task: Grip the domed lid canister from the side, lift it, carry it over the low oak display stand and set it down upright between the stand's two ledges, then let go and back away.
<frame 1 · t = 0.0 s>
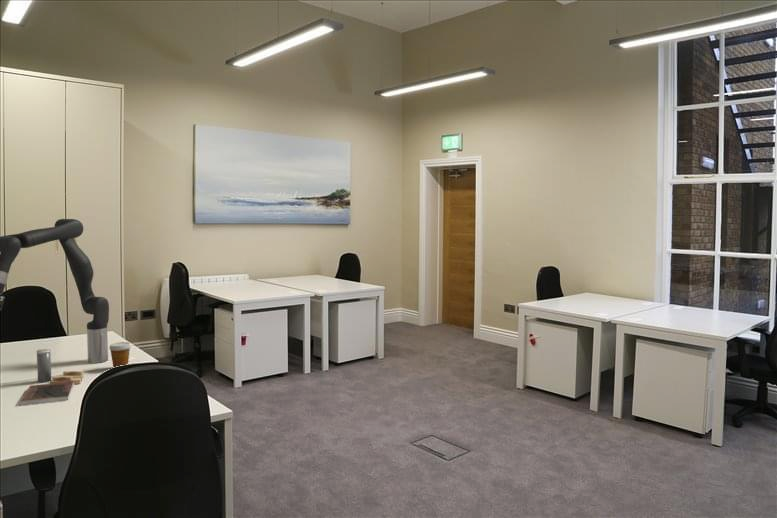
display stand: (67, 382, 249), on the table
domed lid canister: (44, 381, 250), on the table
picture frame: (48, 396, 231), on the table
disposable coffee cup: (120, 368, 272), on the table
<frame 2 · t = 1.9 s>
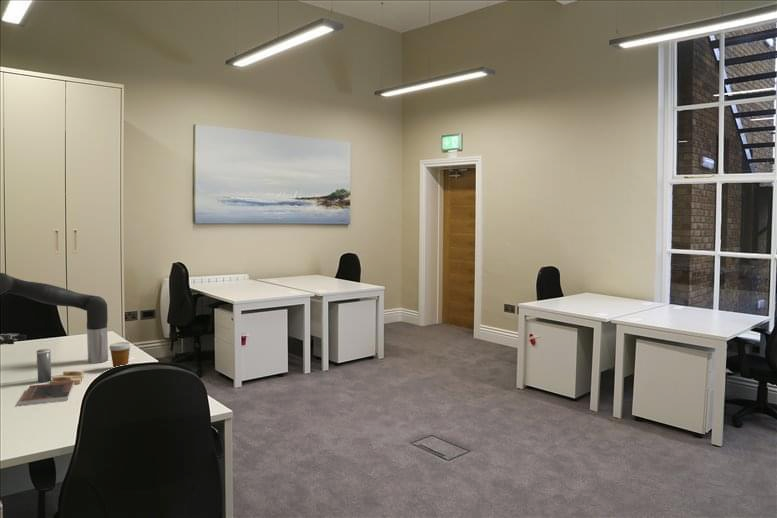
hand: (19, 339, 247), 19 cm above the table, tool horizontal, fingers open, 8 cm apart
nothing on the table moved.
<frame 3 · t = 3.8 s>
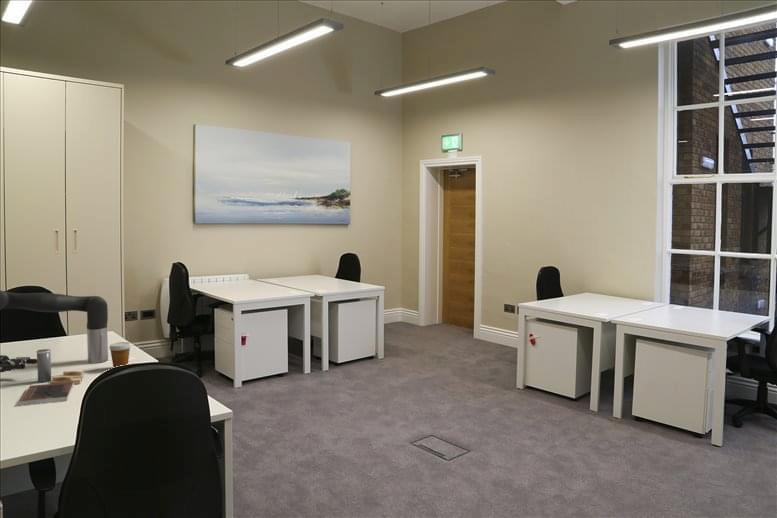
hand: (30, 363, 249), 8 cm above the table, tool horizontal, fingers open, 8 cm apart
nothing on the table moved.
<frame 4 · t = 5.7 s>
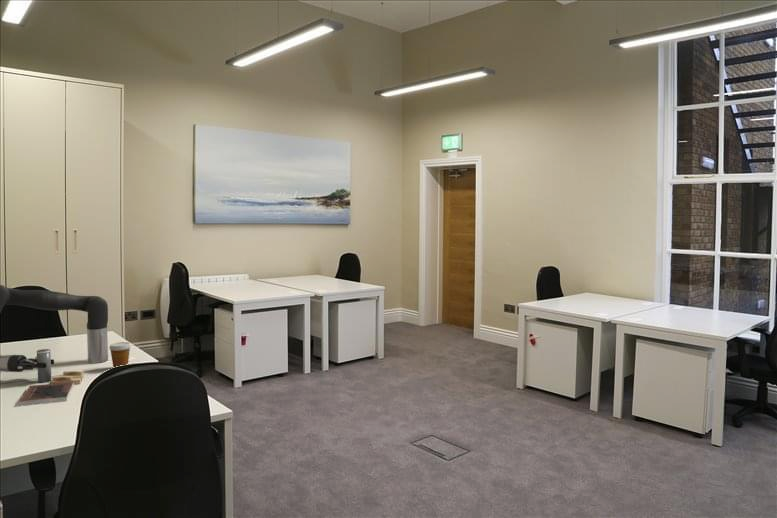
hand: (49, 363, 249), 8 cm above the table, tool horizontal, fingers closed on domed lid canister, 5 cm apart
domed lid canister: (44, 381, 250), on the table, touching gripper
everything else where it was.
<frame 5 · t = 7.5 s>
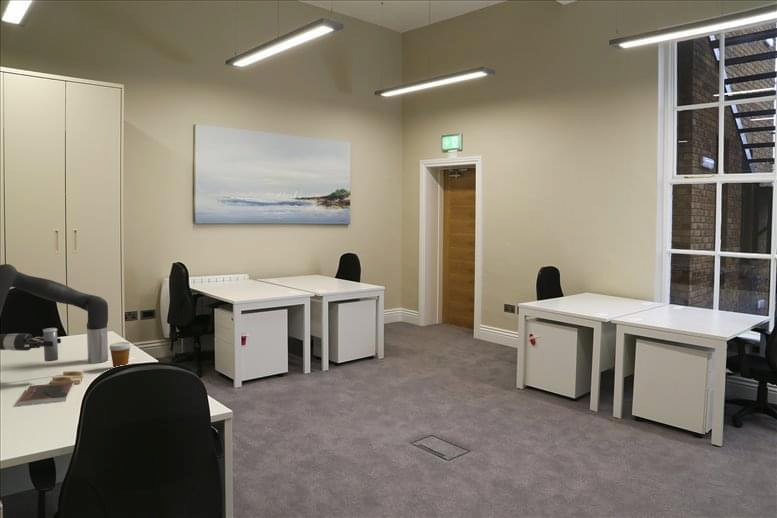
hand: (56, 342, 248), 18 cm above the table, tool horizontal, fingers closed on domed lid canister, 5 cm apart
domed lid canister: (51, 359, 249), point 10 cm above the table, touching gripper
everything else where it was.
when the fingers open (11 cm above the table, at t = 9.6 s): domed lid canister drops 1 cm, resting on display stand.
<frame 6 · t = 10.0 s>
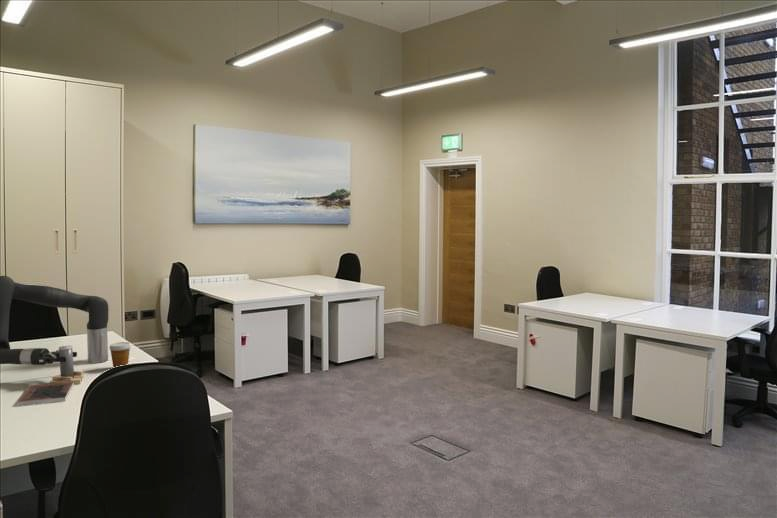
hand: (71, 356, 248), 12 cm above the table, tool horizontal, fingers open, 8 cm apart
domed lid canister: (67, 377, 248), point 2 cm above the table, touching display stand
everything else where it was.
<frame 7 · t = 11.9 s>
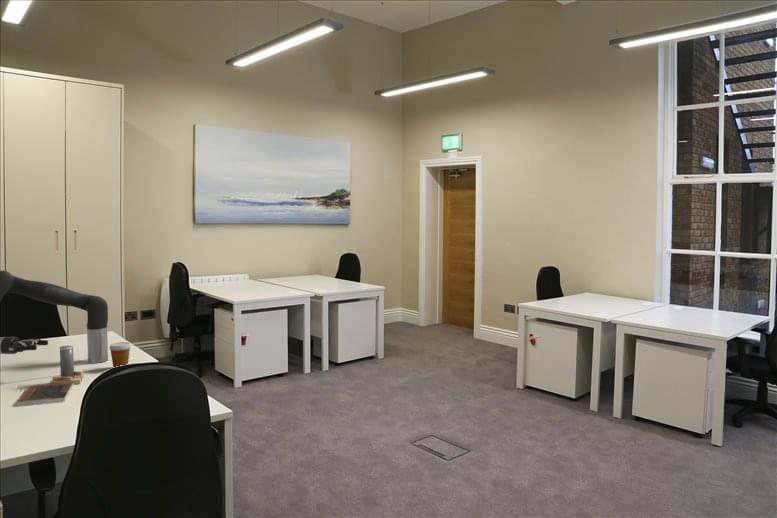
hand: (41, 345, 248), 17 cm above the table, tool horizontal, fingers open, 8 cm apart
nothing on the table moved.
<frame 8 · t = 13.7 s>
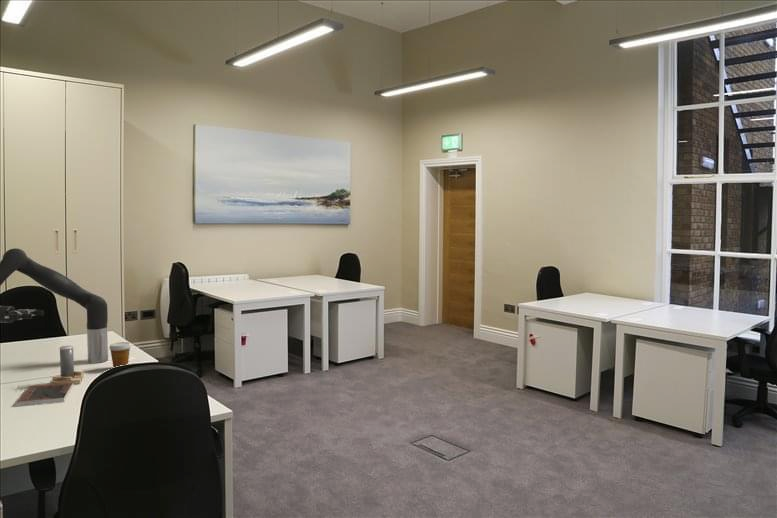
hand: (37, 314, 249), 30 cm above the table, tool horizontal, fingers open, 8 cm apart
at the end: domed lid canister 0.1 cm off-centre on the display stand, point 2.0 cm above the display stand's base; domed lid canister tilted 0°; the gripper is holding nothing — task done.
